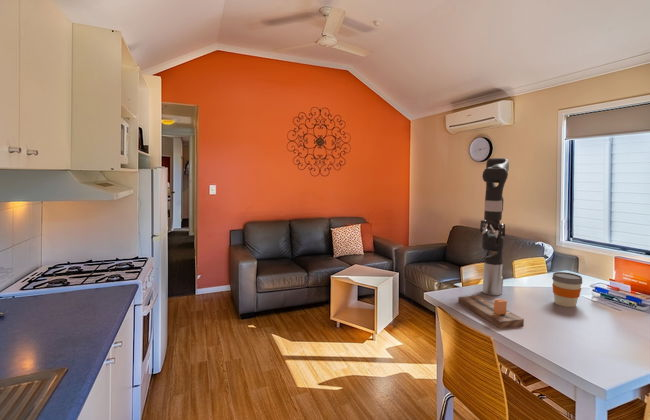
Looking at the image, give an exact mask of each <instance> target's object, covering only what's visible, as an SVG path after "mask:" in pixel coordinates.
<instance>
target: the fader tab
mask: <svg viewBox="0 0 650 420" xmlns="http://www.w3.org/2000/svg"><path fill="white" fill-rule="evenodd" d="M493 301H494V302H493V303H494V312H495V313H496V314H498V315H500V314H506V310H507V305H508V303H507V302H508V301H507V300H506V299H503V298H496V299H494V300H493Z"/></svg>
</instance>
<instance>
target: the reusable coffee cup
mask: <svg viewBox="0 0 650 420" xmlns="http://www.w3.org/2000/svg"><path fill="white" fill-rule="evenodd" d="M551 278H552V293H553V295H554V303H555V304H556V305H557V306H558V305H559V306H561V307H566V308H575V307H576V306H577V303H578V299H579V298H580V294H581V290H582V288H581V287H582V284H583V277H582V276H581V275H579V274H577V273H572V272H571V273H570V272H566V271H556V272H555V271H554V272H553V273H552V277H551Z"/></svg>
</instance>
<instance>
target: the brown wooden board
mask: <svg viewBox="0 0 650 420" xmlns="http://www.w3.org/2000/svg"><path fill="white" fill-rule="evenodd" d="M457 299H458V301H457V302H458V303H459V305H461V306H463V307H464V308H466V309H467V310H470V311H471V312H473V313H474V314H476V315H477V316H479V317H480V318H482V319H484V320H486V321H487V322H489V323H490V324H492V325H494V326H495V327H497V328H499V329H507V328H514V327H523V326H525V325H524V323H525V322H524V321H525V319H524V318H522V317H521V316H519V315H517V314H515V313H513V312H511V311H509V310H507V309H506V314H500V315H498V314H496V313H495V312H494V302H492V301H491V300H488V299H486V298H485V297H483V296H481V295H479V294H478V295H469V296H458V298H457Z"/></svg>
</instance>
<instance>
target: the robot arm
mask: <svg viewBox="0 0 650 420" xmlns="http://www.w3.org/2000/svg"><path fill="white" fill-rule="evenodd" d="M509 168H510V161H509V159H507V158H505V157H496V158H495V157H493V158H492V157H489V158H488V159H487V160H486V165H485V169H484V170H483V172H482V176H481V177H482V180H483V182H485V185H486V186H485V197H484V211H483V212H484V215H483V219H482V220H480V227H479V228H480V229H479V232H480V233H482V240H481V248H482V249H483V251H490V252H495V253H493V254H491V255H486V256H484V258H483V276H482V293H483V294H485V295H489V296H501V295H502V294H503V288H504V277H503V263H504V262H503V257H504V247H505V237H506V224H505V223H500V222H501V221H502V218H503V217H502V216H503V215H502V214H503V212H504V197H503V193H504V188H505V184H506V182H507V179H508V176H509V173H508V172H509ZM496 184H497V185H496ZM490 232H492V233H490Z"/></svg>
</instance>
